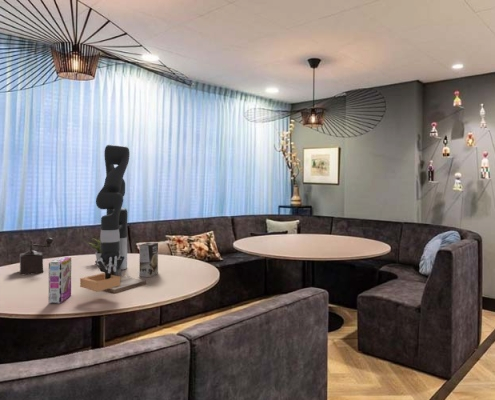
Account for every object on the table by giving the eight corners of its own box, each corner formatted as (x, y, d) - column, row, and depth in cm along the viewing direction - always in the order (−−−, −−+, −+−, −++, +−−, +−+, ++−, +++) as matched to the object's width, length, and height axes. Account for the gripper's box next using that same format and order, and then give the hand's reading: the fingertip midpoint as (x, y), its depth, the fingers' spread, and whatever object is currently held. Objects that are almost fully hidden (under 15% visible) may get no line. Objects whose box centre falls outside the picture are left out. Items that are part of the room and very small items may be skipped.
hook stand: (88, 286, 173) (88, 266, 173) (120, 278, 188) (120, 260, 188) (113, 293, 164) (113, 272, 163) (145, 283, 179) (145, 264, 178)
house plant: (106, 258, 234) (106, 232, 233) (120, 261, 226) (120, 234, 225) (85, 262, 222) (85, 235, 222) (99, 266, 214) (98, 237, 214)
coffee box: (150, 277, 191) (150, 245, 190) (139, 276, 192) (138, 244, 192) (158, 273, 200) (158, 242, 199) (147, 272, 201) (147, 242, 200)
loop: (80, 286, 154) (80, 278, 154) (103, 280, 163) (103, 272, 163) (97, 291, 148) (97, 282, 148) (120, 285, 157) (120, 276, 157)
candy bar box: (61, 304, 149) (61, 262, 148) (48, 304, 148) (47, 262, 147) (72, 295, 160) (71, 256, 159) (59, 295, 159) (59, 256, 158)
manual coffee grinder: (20, 275, 192) (19, 240, 191) (19, 271, 201) (19, 237, 200) (54, 271, 200) (54, 237, 199) (52, 267, 209) (52, 235, 208)
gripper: (117, 237, 166) (117, 276, 167) (90, 241, 155) (90, 283, 156) (129, 238, 162) (129, 278, 163) (101, 243, 151) (102, 286, 152)
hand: (110, 280), depth 160 cm, fingers closed on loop, 1 cm apart
